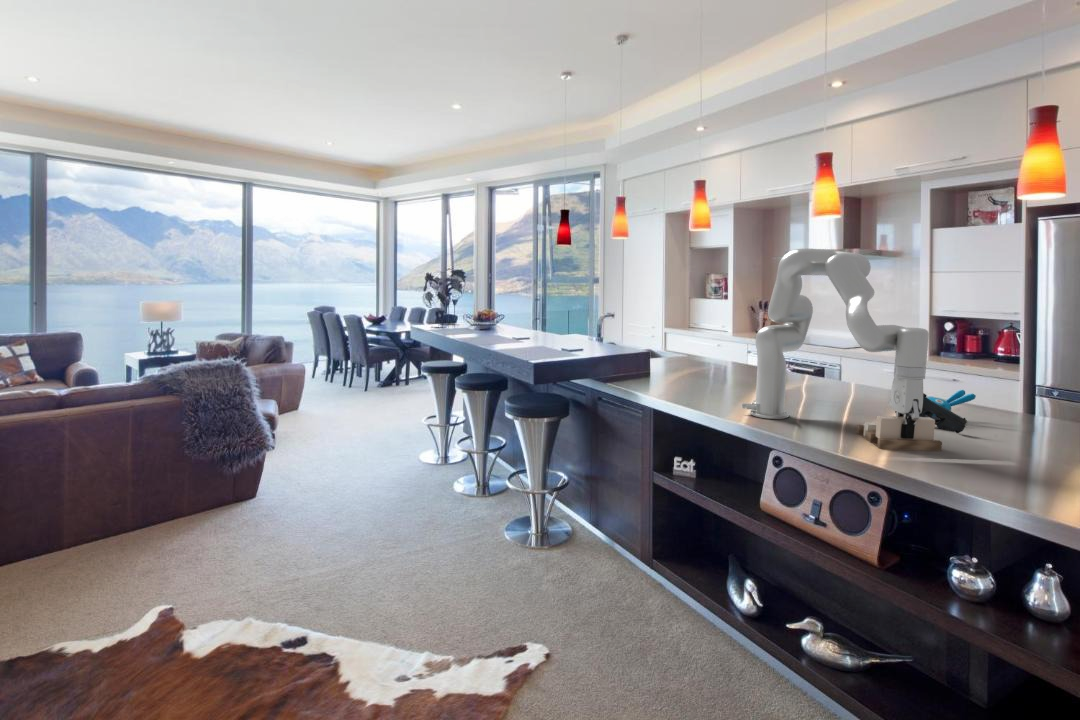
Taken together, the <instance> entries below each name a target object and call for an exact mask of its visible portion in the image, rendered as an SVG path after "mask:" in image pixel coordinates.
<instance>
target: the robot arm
mask: <svg viewBox="0 0 1080 720" xmlns="http://www.w3.org/2000/svg"><path fill="white" fill-rule="evenodd" d="M871 267H872V266H871V263H870V260H869V259H868V258H867V257H866V256H865V255H864V254H861V253H857V252H855V253H854V252H849V251H842V250H834V249H828V248H827V249H825V248H796V249H793V250H790V251H788V252H786V253H785V254H784V255H783V256H782V257H781V259H780V261H779V262H778V266H777V271H776V277H775V280H776V281H775V283H774V286H773V290H772V294H771V296H770V301H769V305H768V307H767V316H768V318H769V320H770V321H772V322H774V323H776V324H774V325H773V324H772V325H766V326H764V327H761V328H760V329H759V330H758V331H757V333H756V335H755V350H756V355H757V357H756V358H757V361H756V362H757V365H756V366H757V367H756V368H757V369H756V384H755V385H756V387H755V389H756V390H755V400H753V401H752V402H750V403H747V402H741V405H740V407H741V409H742V410H743V409H746V410H750V415H751V416H754V417H756V418H760V419H768V420H770V419H771V420H783V419H787V418H789V415H790V414H789V412H788V411H786V410H785V406H786V405H785V403H786V384H787V361H786V359H785V355H784V353H787V352H789V353H790V352H794V351H797V350H799V349H800V348H801V347H802V346H803V345H804V342H805V340H806V337H807V334H808V331H809V327H810V324H811V320H812V317H813V313H814V308H813V304H812V301H811V300H810V298H809V297H807V296H806V295H804V294H801V292H802V289H803V278H802V276H824V277H825V276H827V277H828V278H829V279H828V280H830V282H831V284H832V285H833V287H834V288H835V290H836V292H837V293H838V294H839V296H840V298H841V300H842V301H843V302H844V304H845V307H846V308H845V319H846V326H847V328H848V330H849V332H850V333H851V335H852V337H853V338H854V340H855V342H857V344H858V346H859V347H861V348H862V349H863V350H864V351H866V352H868V353H881V352H894V351H895V355H894V357H895V358H894V370H893V378H892V379H893V381H892V385H891V391H890V397H889V407H890V409H892V410H894V412H895V416H898V417H904V418H903V424H902V427H901V438H909V439H913V438H914V429H915V424H916V420H918V419H919V414H920V413H921V412H922V406H923V393H924V380H925V379H926V372H927V371H926V370H927V360H928V359H927V358H928V349H929V338H930V333H929V331H928V330H927V329H926V328H921V327H905V326H901V325H897V324H896V325H895V324H880V325H877V324H876V322H875V321H874V319H873V318H872V316H871V315H870V312H869V310H868V302H869V301H871V300H872V299H873V298H874V295H875V289H874V288H873V286H872V285H871V283H870V282H869V280H868V278H867V277H868V276H869V275H870V273H871ZM777 323H778V324H777ZM909 411H911V412H912V413H909ZM908 416H909V417H908ZM910 416H911V417H910ZM907 417H908V419H907Z"/></svg>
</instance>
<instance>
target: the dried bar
mask: <svg viewBox="0 0 1080 720" xmlns="http://www.w3.org/2000/svg"><path fill="white" fill-rule="evenodd" d="M876 424H877V422H870V421H869V422H868V421H867V422H865V421H864V424H863V425H864V434H863V435H864V436H865V431H866V430H869V431H876Z"/></svg>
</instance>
